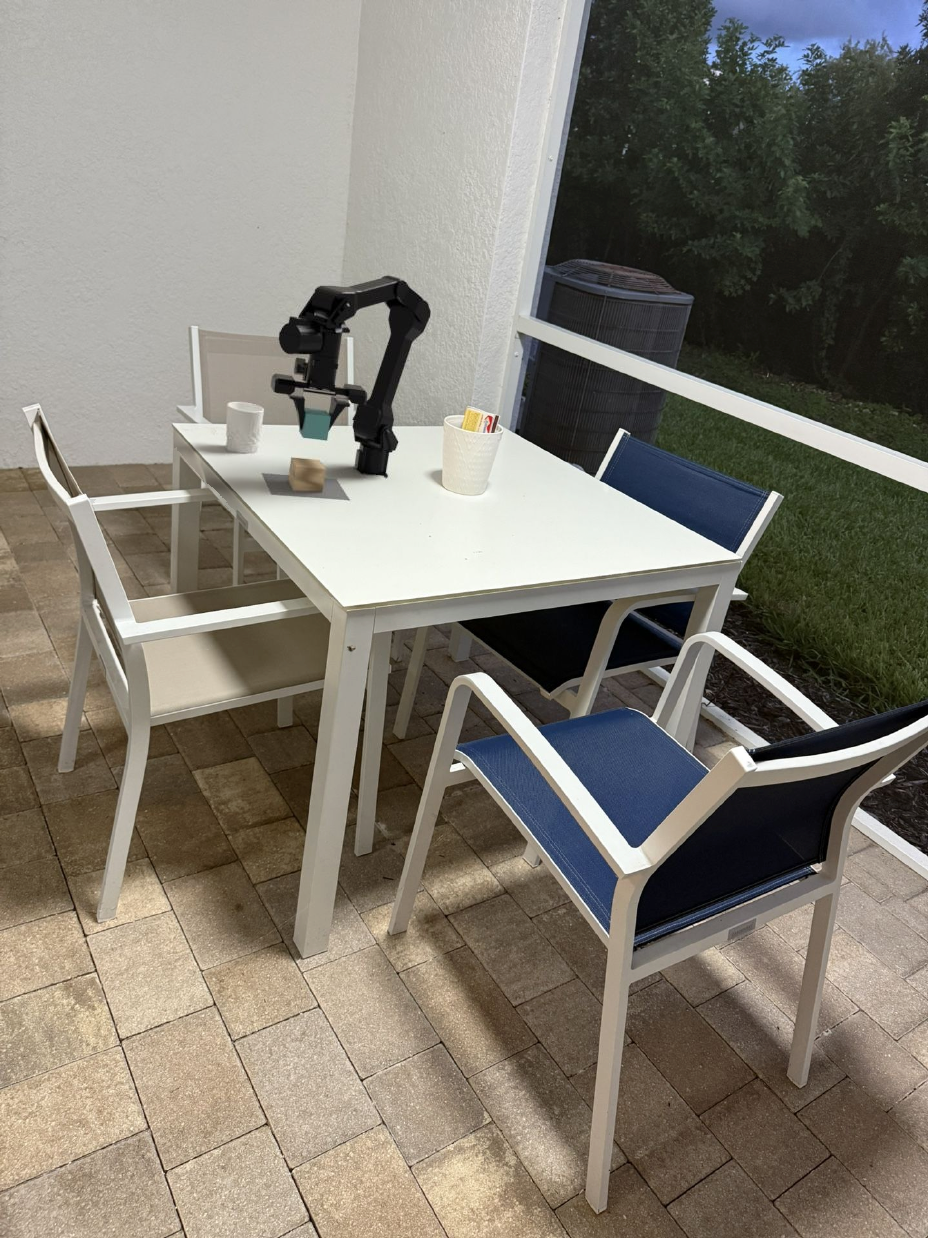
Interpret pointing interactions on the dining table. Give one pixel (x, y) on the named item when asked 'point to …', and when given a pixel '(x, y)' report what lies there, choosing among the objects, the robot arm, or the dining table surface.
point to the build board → (283, 487)
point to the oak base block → (306, 475)
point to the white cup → (243, 427)
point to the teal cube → (315, 424)
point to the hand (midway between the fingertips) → (313, 430)
